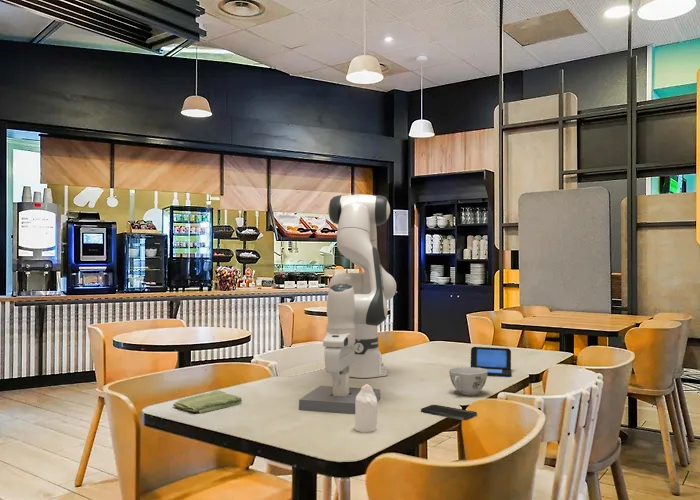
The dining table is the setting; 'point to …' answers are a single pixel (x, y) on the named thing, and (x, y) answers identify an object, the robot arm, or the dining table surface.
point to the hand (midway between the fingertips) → (340, 382)
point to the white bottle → (366, 410)
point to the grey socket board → (331, 400)
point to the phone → (449, 412)
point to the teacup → (468, 379)
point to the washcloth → (208, 402)
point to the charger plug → (342, 385)
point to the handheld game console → (492, 360)
